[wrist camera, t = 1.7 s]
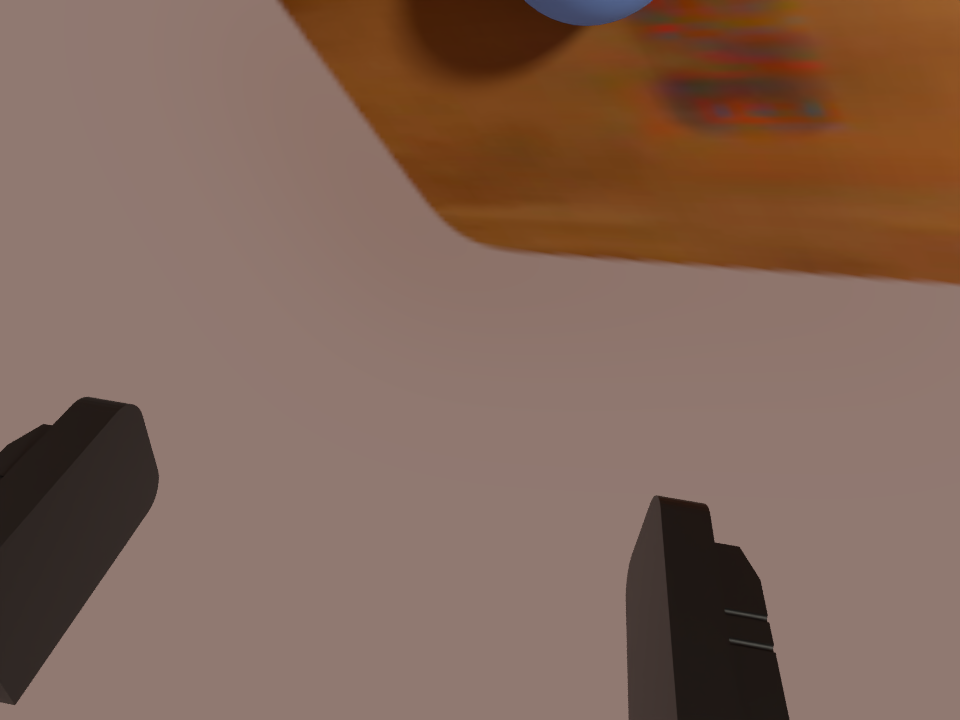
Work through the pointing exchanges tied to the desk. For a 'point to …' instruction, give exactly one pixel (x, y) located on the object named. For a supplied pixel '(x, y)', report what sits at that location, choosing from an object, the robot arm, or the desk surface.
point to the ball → (587, 10)
